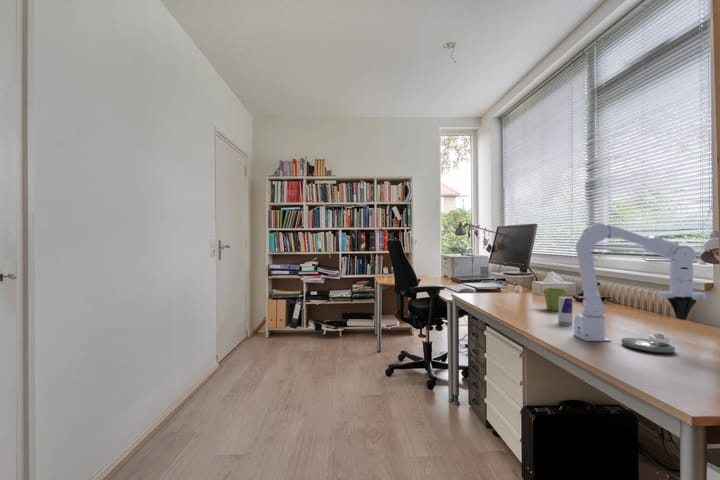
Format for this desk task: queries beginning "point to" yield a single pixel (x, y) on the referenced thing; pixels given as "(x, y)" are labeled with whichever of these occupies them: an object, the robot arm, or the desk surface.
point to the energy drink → (565, 310)
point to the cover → (659, 340)
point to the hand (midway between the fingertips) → (681, 318)
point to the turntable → (646, 345)
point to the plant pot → (553, 297)
